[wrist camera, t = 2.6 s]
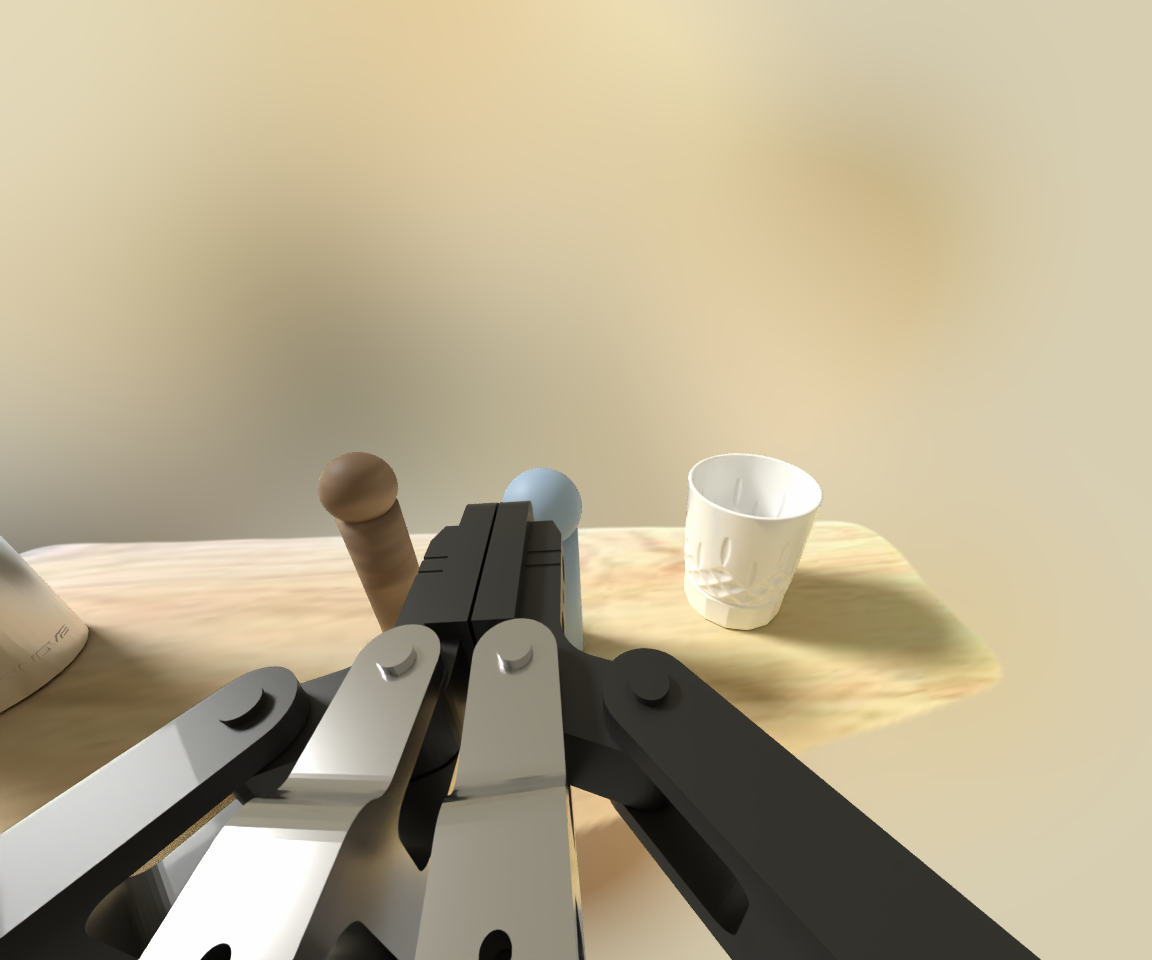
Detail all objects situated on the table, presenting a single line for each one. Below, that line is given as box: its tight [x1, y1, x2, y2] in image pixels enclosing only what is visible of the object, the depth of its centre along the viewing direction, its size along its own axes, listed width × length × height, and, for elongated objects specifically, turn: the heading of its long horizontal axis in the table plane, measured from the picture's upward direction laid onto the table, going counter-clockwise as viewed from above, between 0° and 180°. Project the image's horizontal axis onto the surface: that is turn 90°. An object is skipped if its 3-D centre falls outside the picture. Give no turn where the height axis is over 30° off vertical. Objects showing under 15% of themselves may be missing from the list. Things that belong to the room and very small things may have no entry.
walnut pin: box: [318, 452, 419, 633], centre depth 27 cm, size 4×4×14 cm
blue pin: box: [503, 468, 584, 652], centre depth 25 cm, size 4×4×14 cm
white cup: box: [684, 454, 823, 630], centre depth 29 cm, size 8×8×10 cm
